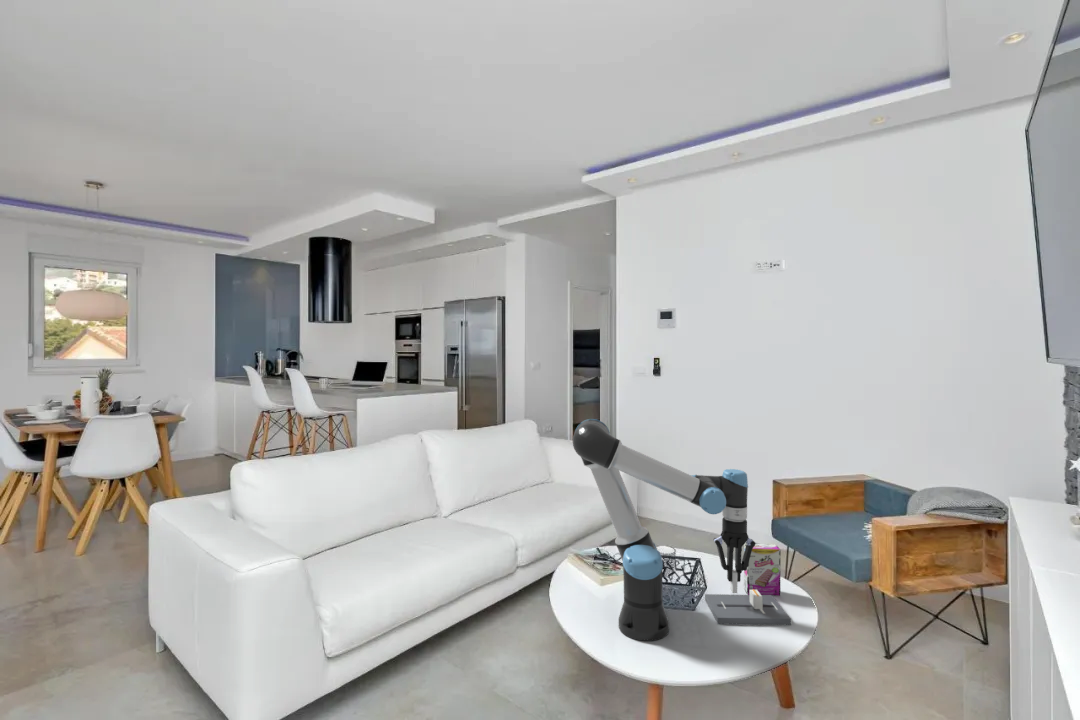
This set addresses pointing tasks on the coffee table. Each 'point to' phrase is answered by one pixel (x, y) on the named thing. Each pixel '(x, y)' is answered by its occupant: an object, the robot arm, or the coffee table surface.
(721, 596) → the console
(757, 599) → the fader cap
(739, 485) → the robot arm
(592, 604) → the coffee table surface
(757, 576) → the candy bar box
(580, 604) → the coffee table surface
